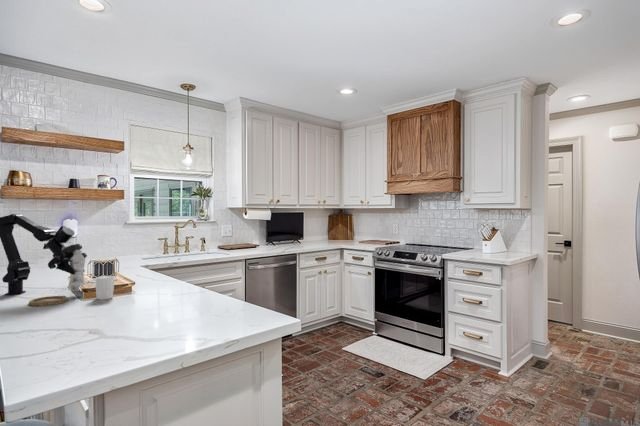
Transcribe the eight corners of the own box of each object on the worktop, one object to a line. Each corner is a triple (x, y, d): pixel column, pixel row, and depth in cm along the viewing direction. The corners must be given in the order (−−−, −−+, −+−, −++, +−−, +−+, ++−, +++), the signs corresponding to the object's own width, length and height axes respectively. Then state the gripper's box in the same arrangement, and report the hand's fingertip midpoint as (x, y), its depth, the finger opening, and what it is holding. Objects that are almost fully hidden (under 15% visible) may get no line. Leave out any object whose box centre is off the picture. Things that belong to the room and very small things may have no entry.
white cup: (91, 299, 173) (91, 278, 172) (105, 295, 180) (105, 275, 180) (104, 300, 170) (104, 279, 170) (118, 296, 178) (118, 276, 178)
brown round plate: (36, 299, 171) (36, 296, 171) (72, 297, 175) (72, 294, 175) (22, 307, 157) (22, 304, 157) (61, 305, 162) (61, 301, 162)
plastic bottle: (69, 289, 181) (70, 249, 180) (85, 288, 184) (86, 248, 183) (67, 292, 175) (67, 250, 175) (83, 291, 178) (84, 250, 178)
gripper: (53, 239, 170) (75, 264, 169) (84, 236, 189) (103, 259, 188) (38, 256, 171) (59, 280, 170) (69, 251, 190) (89, 273, 189)
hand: (79, 272), depth 179 cm, fingers closed on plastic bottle, 6 cm apart
